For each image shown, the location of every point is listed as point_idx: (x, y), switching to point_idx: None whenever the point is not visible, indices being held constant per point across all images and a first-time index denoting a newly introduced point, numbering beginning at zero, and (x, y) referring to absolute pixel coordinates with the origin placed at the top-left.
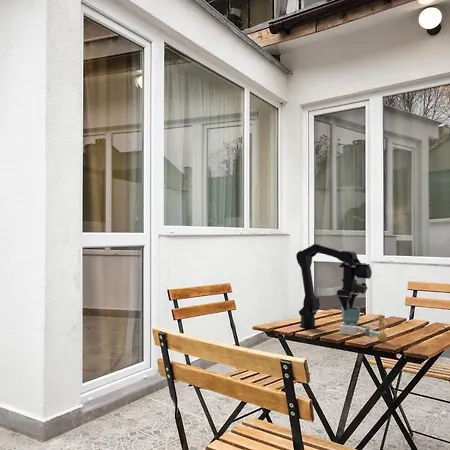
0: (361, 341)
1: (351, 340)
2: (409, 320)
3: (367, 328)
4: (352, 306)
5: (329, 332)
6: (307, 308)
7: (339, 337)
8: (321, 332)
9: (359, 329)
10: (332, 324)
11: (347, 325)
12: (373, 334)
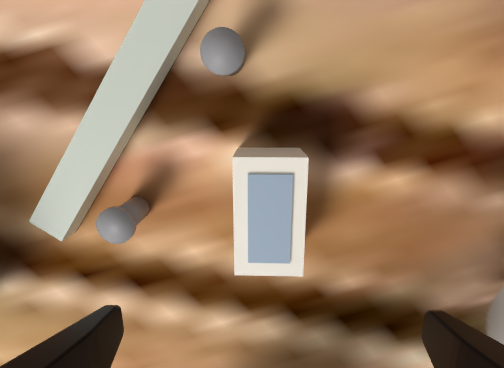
0: (493, 31)
1: (493, 107)
2: None
3: (231, 49)
4: (103, 321)
5: (298, 305)
6: None
7: (429, 208)
8: (330, 341)
9: (110, 161)
10: None
11: (263, 226)
12: (198, 15)
